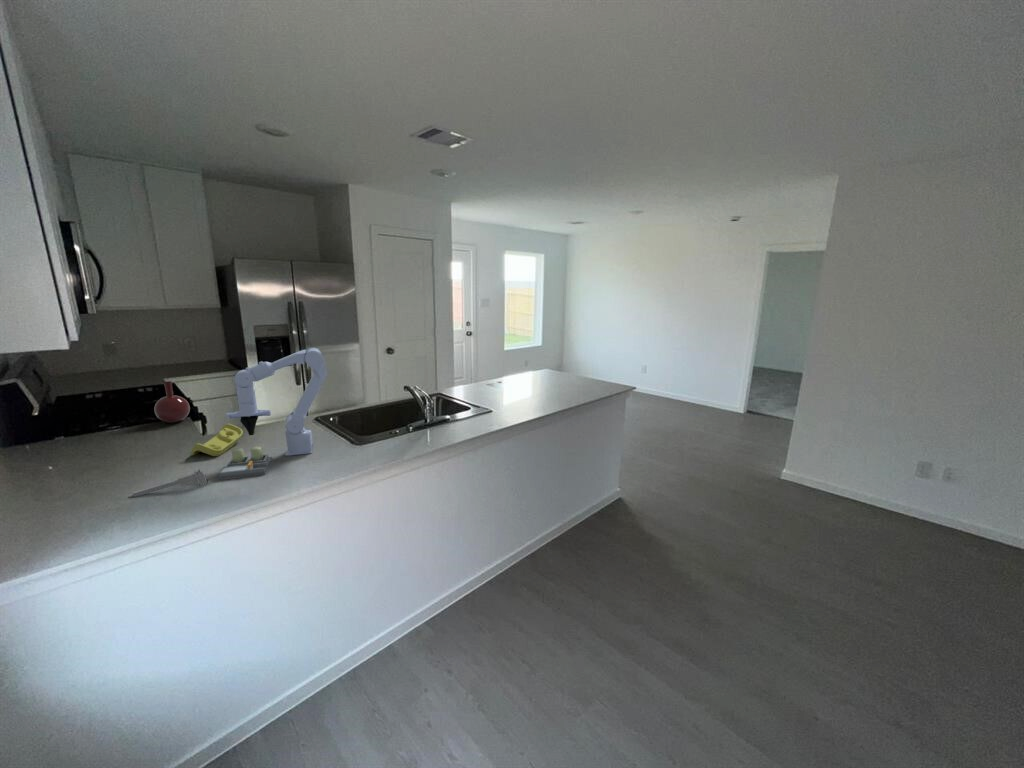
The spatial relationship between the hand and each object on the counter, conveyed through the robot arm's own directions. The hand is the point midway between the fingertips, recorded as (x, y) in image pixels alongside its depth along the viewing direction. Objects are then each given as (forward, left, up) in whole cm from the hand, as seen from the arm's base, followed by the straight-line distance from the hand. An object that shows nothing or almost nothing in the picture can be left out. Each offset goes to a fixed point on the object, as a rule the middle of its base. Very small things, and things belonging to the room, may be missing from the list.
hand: (251, 434), depth 156 cm
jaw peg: (+3, +8, -9) cm, 12 cm away
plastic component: (+15, -15, -10) cm, 24 cm away
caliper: (+20, +21, -10) cm, 31 cm away
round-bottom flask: (+46, -57, -10) cm, 74 cm away
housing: (0, +11, -10) cm, 14 cm away
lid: (+2, +14, -9) cm, 17 cm away
